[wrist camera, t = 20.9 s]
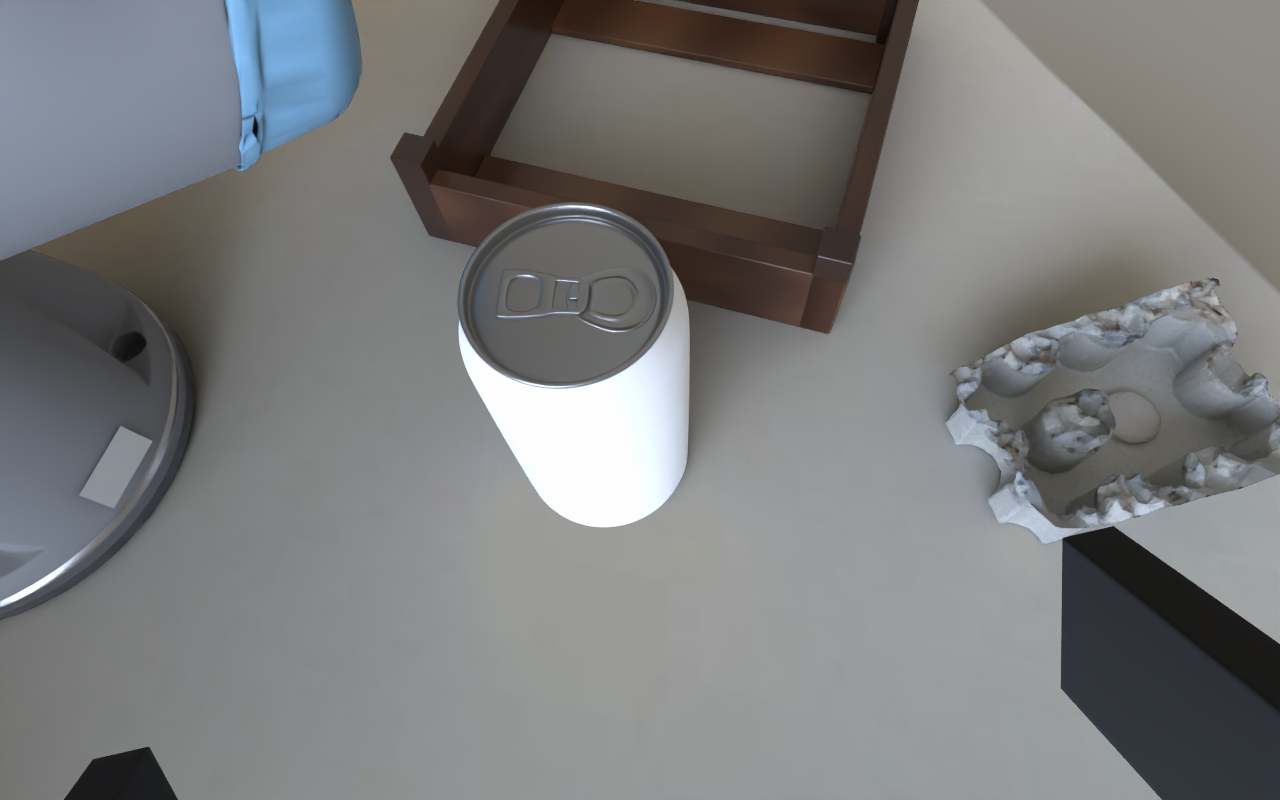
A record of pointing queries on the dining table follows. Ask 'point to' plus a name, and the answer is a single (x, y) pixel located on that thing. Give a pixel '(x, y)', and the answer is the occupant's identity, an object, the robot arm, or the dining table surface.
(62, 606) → the dining table surface
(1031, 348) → the egg carton
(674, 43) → the crate
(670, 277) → the can
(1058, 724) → the dining table surface
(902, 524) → the dining table surface
